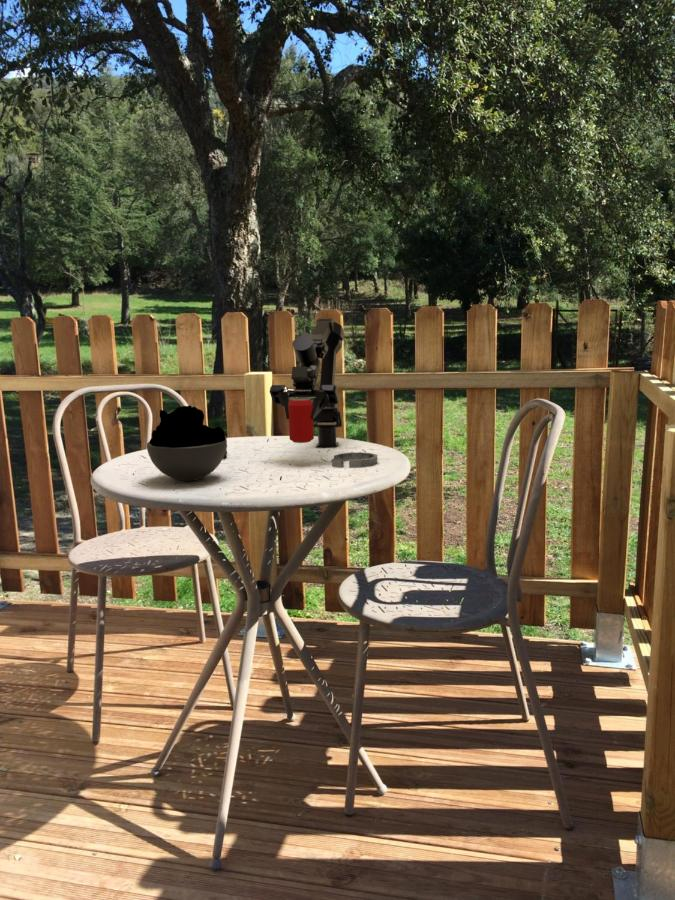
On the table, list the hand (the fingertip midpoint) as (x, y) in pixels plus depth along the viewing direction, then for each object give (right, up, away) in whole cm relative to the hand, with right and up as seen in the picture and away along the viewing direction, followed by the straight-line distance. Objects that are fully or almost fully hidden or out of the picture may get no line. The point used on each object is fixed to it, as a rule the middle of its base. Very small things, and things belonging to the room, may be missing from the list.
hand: (299, 418), depth 206 cm
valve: (-28, -11, +17) cm, 35 cm away
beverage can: (0, -6, +3) cm, 7 cm away
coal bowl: (-28, -16, -12) cm, 35 cm away
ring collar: (+15, -12, +5) cm, 20 cm away
